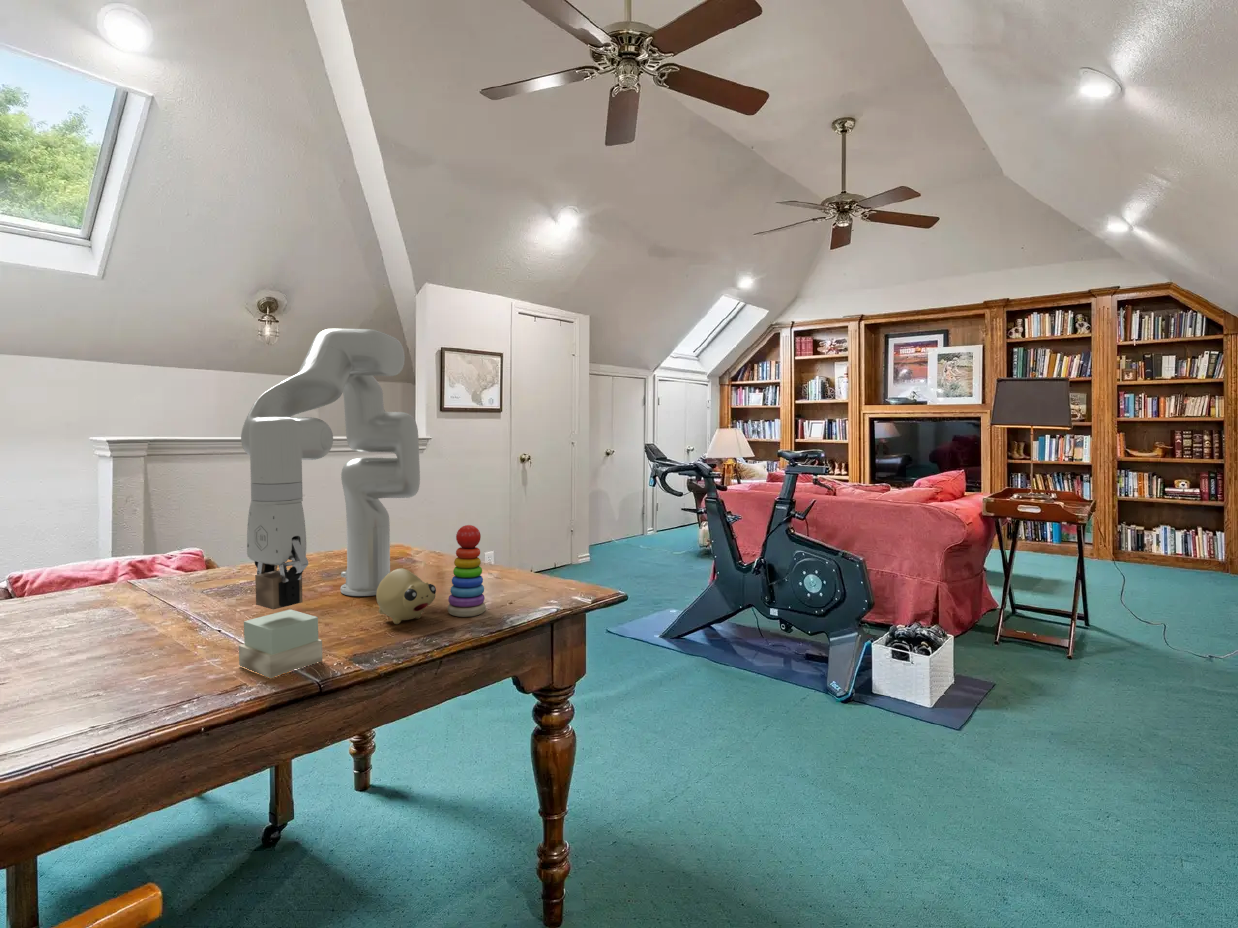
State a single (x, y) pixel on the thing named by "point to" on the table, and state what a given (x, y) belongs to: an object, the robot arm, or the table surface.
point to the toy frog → (403, 595)
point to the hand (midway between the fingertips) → (279, 600)
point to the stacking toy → (467, 576)
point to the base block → (280, 659)
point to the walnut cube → (270, 589)
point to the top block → (280, 631)
